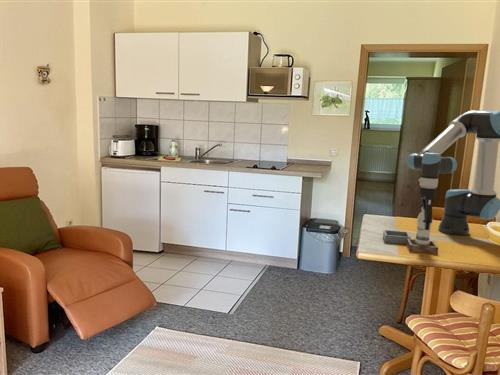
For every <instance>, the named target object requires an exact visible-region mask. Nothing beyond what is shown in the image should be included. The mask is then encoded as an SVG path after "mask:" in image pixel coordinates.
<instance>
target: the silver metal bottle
mask: <svg viewBox="0 0 500 375" xmlns="http://www.w3.org/2000/svg"><path fill="white" fill-rule="evenodd" d="M421 210H422V212H421V213H420V214H419V213H418V216H417V217H416V218H417V220H416V221H417V224H416V225H417V227H416V228H417V230H416V236H415V238H414V239H415V242H414V245H423V246H430V241H431V240H430V237H431V236H430V234H431V232H430V233H429V237H423V236H422V234H423V225H424V222H423V220H425V216H424V209H423V206H422V209H421ZM433 219H434V218H433V216H432V222H431V224H430V229H431V227H432V224H433Z"/></svg>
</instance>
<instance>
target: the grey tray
mask: <svg viewBox="0 0 500 375" xmlns="http://www.w3.org/2000/svg"><path fill="white" fill-rule="evenodd" d="M382 237H383V242H384V243H387V244H389V243H391V244H401V245H406V242H407V239H412V237H411V235H410V234H409V232H408V231H400V230H390V229H389V230H388V229H383V234H382Z"/></svg>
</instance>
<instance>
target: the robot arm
mask: <svg viewBox="0 0 500 375" xmlns="http://www.w3.org/2000/svg"><path fill="white" fill-rule="evenodd" d="M468 134H469V135H470V134H474V135H476V137H475V139H476V140H478V150H477V158H476V170H475V179H474V188H473V189H472V190H471V189H466V188H465V189H463V188H462V189H459V188H458V189H457V188H456V189H454V188H453V189H448V190H447V191H446V193H445V199H444V200H445V201H444V207H443V208H444V209H443V215H442V219H441V221H440V223H439V225H438V231H439V232H442V233H445V234H448V235H449V234H450V235H456V236H465V235H466V236H467V235H469V234H470V227H469V221H468V217H473V218H477V219H481V220H488V221H489V220H492V219H494V218H496V216H497V215H498V214H499V212H500V198H499V197H497V194H498V193H497V192H496V191H495V190H494V189H495V181H496V180H495V178H496V169H497V161H498V159H497V158H498V152H499V143H500V110H476V109H475V110H474V109H473V110H469V111H466V112H463V113H462V114H460V115H458V116H457V117H455V118H454V119H453V120H451V121H450V122H449V123H448V127H446V128H445V129H444V130H443V131H442V132H441V133H440V134H438V135H437V137H435V138H434V139H433V140H432V141H431V142H430V143H429V144H427V145H426V146H425V147H424V148H423V149H421V150H420V152H418V153H411V154H409V155H408V157H407V161H406V164H407V167H408V168H409V169H412V170H416V171H420V178H419V179H418V182H419V187H418V196H420V203H419V206H418V207H419V208H418V215H419V214H420V213H421V212H422V210H421V209H422V206H423V209H424V216H425V220H423V222H424V225H423V234H422V236H423V237H429V233H430V234H431V228H430V224H431V222H432V223H433V221H432V217H433V202H434V200H433V199H432V198H434V197H435V198H436V197H437V192H438V186H439V185H438V184H439V175H440V174H448V175H449V174H452V173H454V172H455V171H456V170H457V168H458V162H457V160H456V159H455V158H454V157H452V156H441V155H442V154H443V153H444V152H445V151H446V150H447V149H448V148H449V147H450V146H452V145H453V144H454V143H455V142H456V141H457V140H458V139H460V138H464V136H466V135H468ZM431 225H432V224H431Z"/></svg>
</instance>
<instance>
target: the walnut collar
mask: <svg viewBox="0 0 500 375" xmlns="http://www.w3.org/2000/svg"><path fill="white" fill-rule="evenodd" d="M415 239H416V238H411V239H407V242H406V244H405V245H406V247H407V249H408V251H409V252H414V253H424V254H434V255H435V254H436V255H438V253H439V246H438V245H437V244H436V242H435V241H434V240H430V246H423V245H414V242H415Z"/></svg>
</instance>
